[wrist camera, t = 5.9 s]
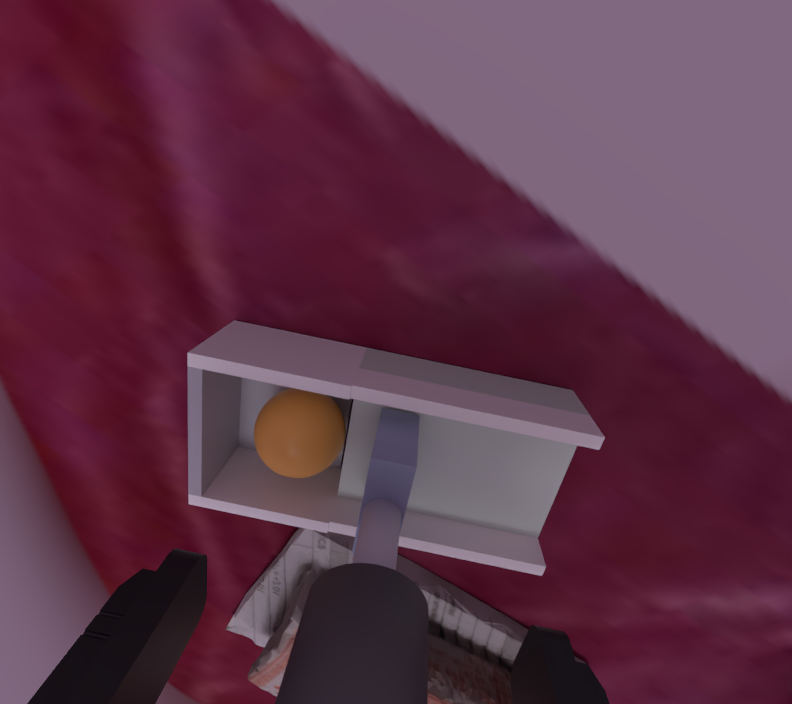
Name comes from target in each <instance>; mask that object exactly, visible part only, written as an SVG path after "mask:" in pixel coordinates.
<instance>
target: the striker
mask: <svg viewBox="0 0 792 704" xmlns="http://www.w3.org/2000/svg"><path fill="white" fill-rule="evenodd" d="M419 421H420V416H419V415H414V414H410V413H405V412H400V411H395V410H390V409H385V408H382V411H381V416H380V420H379V424H378V429H377V433H376V438H375V442H374V446H373V451H372V455H371V460H370V465H369V470H368V475H367V480H366V485H365V490H364V495H363V500H362V505H361V510H360V515H359V520H358V525H357V530H356V535H355V540H354V545H353V550H352V554H354V558H353V562H352V563H350V564H344V565H340V566H337V567H334V568H331V569H329V570H328V571H326V572H324V573H323V574H321V575H320V576H319V577H318V578H317V579H316V580H315V581H314V583H313V584H312V586H311V588H310V590H309V593H308V597H307V600H306V603H305V607H304V610H303V613H302V616H301V620H300V623H299V626H298V630H297V633H296V636H295V639H294V643H293V646H292V649H291V653H290V656H289V659H288V662H287V666H286V669H285V672H284V676H283V679H282V682H281V685H280V689H279V692H278V695H277V699H276V702H275V704H428V617H429V609H428V603H427V600H426V598H425V596H424V594H423V592H422V591H421V590H420V588H419V587H418V586H417V585H416V584H415V583H414V582H413V581H412V580H410V579H409V578H408V577H406V576H405V575H403V574H402V573H400V572H398V571H396V563H397V553H398V542H399V535H400V531H401V527H402V523H403V519H404V515H405V511H406V508H407V504H408V500H409V496H410V492H411V488H412V484H413V480H414V476H415V472H416V468H417V455H418V438H419Z"/></svg>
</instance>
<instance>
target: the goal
mask: <svg viewBox="0 0 792 704" xmlns="http://www.w3.org/2000/svg"><path fill="white" fill-rule="evenodd" d="M366 349H367V348H366V347H361V346H357V345H352V344H347V343H342V342H337V341H332V340H328V339H323V338H318V337H313V336H308V335H303V334H299V333H294V332H289V331H284V330H279V329H274V328H270V327H265V326H260V325H255V324H250V323H245V322H241V321H236V320H234V321H233V322H231V323H230V324H228V325H227V326H225V327H224V328H222V329H221V330H220V331H218V332H217V333H215V334H214V335H212V336H211V337H209V338H208V339H206V340H205V341H204V342H202V343H201V344H199V345H198V346H196V347H195V348H193V349H192V350H191V351H189V352H188V353H187V354H188V495H189V504H190V505H195V506H200V507H205V508H209V509H214V510H219V511H224V512H229V513H233V514H238V515H243V516H248V517H252V518H257V519H262V520H267V521H272V522H276V523H281V524H286V525H291V526H295V527H300V528H305V529H310V530H315V531H319V532H324V533H327V532H328V527H329V521H330V518H331V515H332V512H333V508H334V505H335V502H336V498H337V494H338V488H339V483H340V477H341V471H342V465H341V463H342V457H343V451H344V445H345V441H344V445H343V448H342V450H341V452H340V454H339V455H338V457H337V459H336V460H335V461H334V462H333V463H332V464H331V465H330V466H329V467H328V468H327V469H325V470H324V471H322V472H320V473H318V474H316V475H314V476H311V477H306V478H290V477H285V476H282V475H280V474H278V473H276V472H274V471H273V470H271V469H270V468H269V467H268V466H267V465H266V464H265V463H264V462H263V461H262V459H261V458H260V456H259V454H258V453H257V450H256V447H255V442H254V427H255V422H256V419H257V416H258V414H259V412H260V410H261V409H262V408H263V406H264V405H265V404H266V403H267V401H268V400H269V399H271V398H272V397H273V396H275V395H276V394H278V393H279V392H282V391H284V390H287V389H290V388H295V389H300V390H305V391H310V392H314V393H319V394H324V395H328V396H329V397H331V398H332V399H333V400H334V401H335V403H336V404H337V405H338V406H339V408H340V410H341V412H342V414H343V417H344V420H345V426H346V433H347V427H348V421H349V415H350V409H351V403H352V399H351V398H350V394H351V388H352V384H353V381H354V379H355V376H356V374H357V371H358V369H359V366H360V364H361V361H362V359H363V356H364V354H365V352H366ZM345 439H346V434H345Z"/></svg>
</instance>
